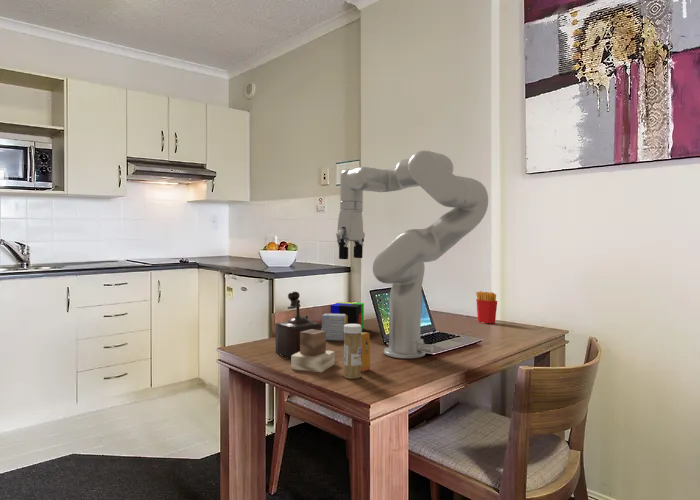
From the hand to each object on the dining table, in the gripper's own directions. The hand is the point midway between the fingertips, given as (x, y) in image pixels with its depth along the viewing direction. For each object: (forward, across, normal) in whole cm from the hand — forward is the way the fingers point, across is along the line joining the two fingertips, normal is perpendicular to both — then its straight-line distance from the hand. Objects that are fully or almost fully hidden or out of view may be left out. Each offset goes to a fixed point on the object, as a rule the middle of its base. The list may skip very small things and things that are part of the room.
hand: (350, 258), depth 164 cm
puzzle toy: (+29, -17, -11) cm, 35 cm away
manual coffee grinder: (+29, +21, -8) cm, 36 cm away
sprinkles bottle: (+28, +34, +20) cm, 49 cm away
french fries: (+28, -61, +30) cm, 74 cm away
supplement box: (+28, +27, +19) cm, 44 cm away
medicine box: (+29, -1, -7) cm, 29 cm away
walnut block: (+25, +31, +6) cm, 40 cm away
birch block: (+29, +31, +6) cm, 43 cm away
